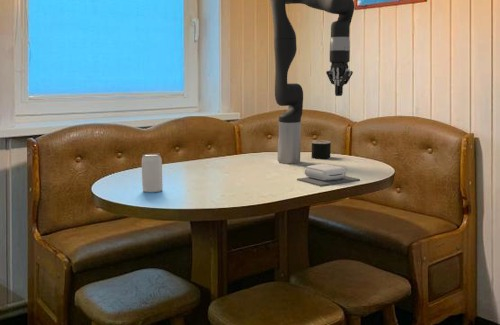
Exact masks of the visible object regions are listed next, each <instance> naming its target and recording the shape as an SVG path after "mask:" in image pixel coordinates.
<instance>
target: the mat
mask: <svg viewBox="0 0 500 325" xmlns="http://www.w3.org/2000/svg"><path fill="white" fill-rule="evenodd" d="M360 180H361V179H360V178H356V177H352V176H347V175H345V177H343V178H341V179H338V180H331V181H324V180H320V179H315V178H311V177H307V176H306V177H301V178H296V181H299V182H303V183H307V184H310V185H314V186H318V187H325V186H333V185H338V184H345V183H352V182H359V181H360Z"/></svg>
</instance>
